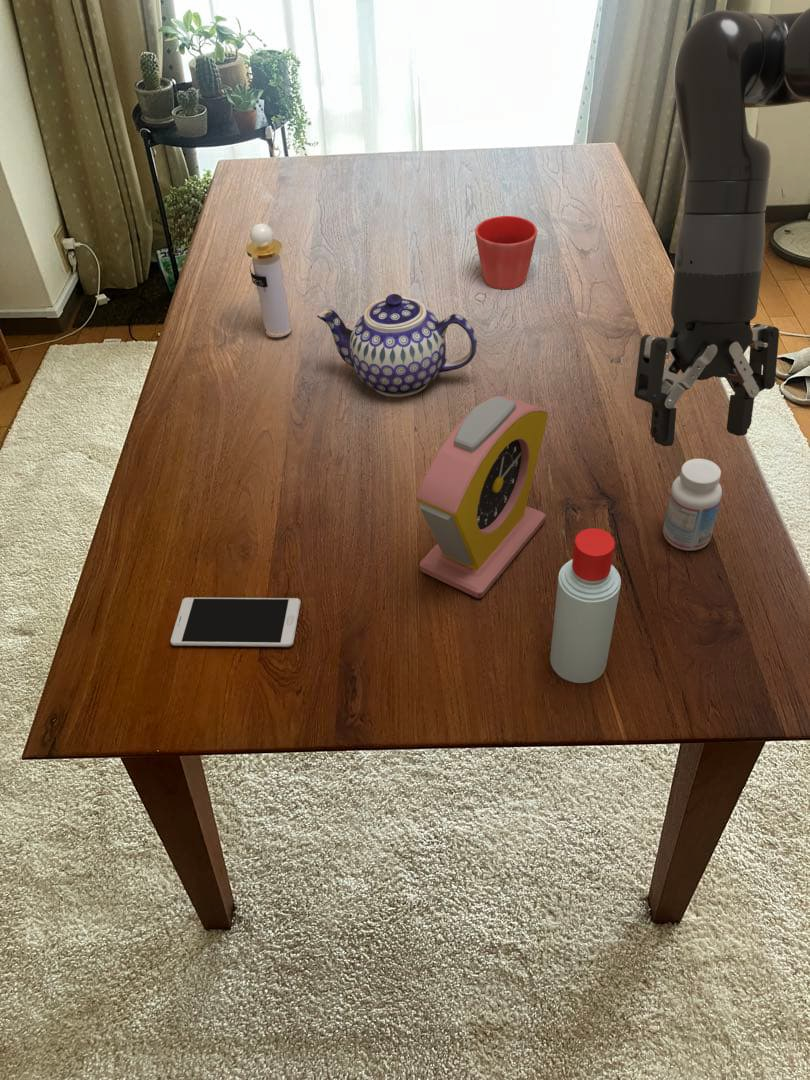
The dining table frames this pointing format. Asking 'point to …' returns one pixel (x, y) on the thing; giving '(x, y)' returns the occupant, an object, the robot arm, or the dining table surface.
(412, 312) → the teapot
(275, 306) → the perfume bottle
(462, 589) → the pink desk clock
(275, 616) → the smartphone
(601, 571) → the cap
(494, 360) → the dining table surface
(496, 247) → the flower pot
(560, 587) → the water bottle
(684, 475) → the pill bottle
